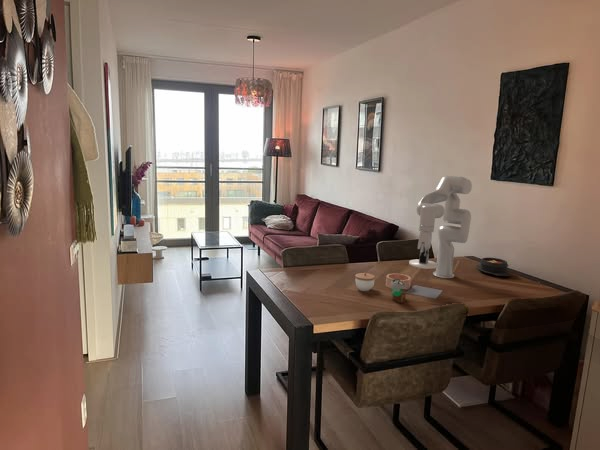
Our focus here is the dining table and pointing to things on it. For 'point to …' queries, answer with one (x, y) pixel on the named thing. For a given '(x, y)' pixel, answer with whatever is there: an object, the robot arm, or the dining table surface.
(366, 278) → the lidded jar
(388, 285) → the bowl
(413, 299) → the dining table surface
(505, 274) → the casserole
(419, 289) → the mat
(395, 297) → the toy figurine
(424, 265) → the lid
